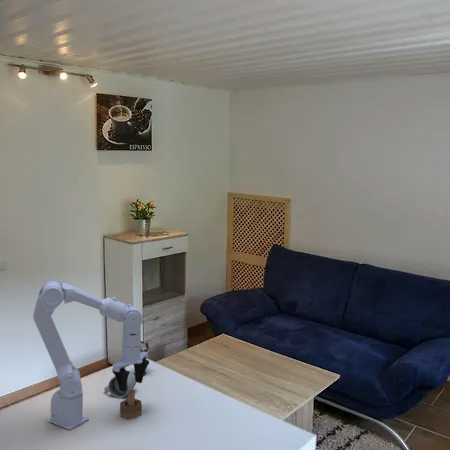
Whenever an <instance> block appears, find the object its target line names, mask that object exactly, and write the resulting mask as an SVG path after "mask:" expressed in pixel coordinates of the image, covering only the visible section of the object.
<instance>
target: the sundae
mask: <svg viewBox="0 0 450 450" xmlns="http://www.w3.org/2000/svg"><path fill="white" fill-rule="evenodd" d="M149 349H150V348H149V342H148V341H147V342H146V343H145V342H144V341H142V340H141V352H148V350H149ZM141 352H140V353H141ZM133 374H134V375H135V371H134V372H133ZM145 375H147V372H146V371H145V373H144V376H145Z"/></svg>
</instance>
